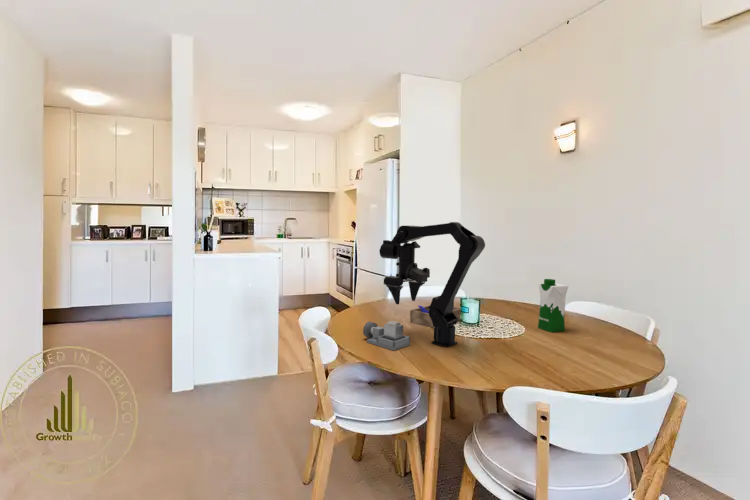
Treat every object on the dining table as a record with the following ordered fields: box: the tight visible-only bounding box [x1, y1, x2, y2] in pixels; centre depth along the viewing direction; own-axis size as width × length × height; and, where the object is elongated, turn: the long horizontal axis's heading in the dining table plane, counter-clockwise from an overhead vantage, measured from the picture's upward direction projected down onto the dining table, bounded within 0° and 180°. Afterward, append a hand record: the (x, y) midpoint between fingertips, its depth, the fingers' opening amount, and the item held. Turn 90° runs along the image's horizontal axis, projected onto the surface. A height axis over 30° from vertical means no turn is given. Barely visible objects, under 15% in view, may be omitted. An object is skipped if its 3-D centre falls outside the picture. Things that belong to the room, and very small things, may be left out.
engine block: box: [383, 320, 404, 341], centre depth 135 cm, size 5×4×7 cm
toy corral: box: [409, 305, 462, 329], centre depth 169 cm, size 13×20×5 cm, turn 137°
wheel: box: [362, 321, 379, 339], centre depth 142 cm, size 2×6×6 cm, turn 137°
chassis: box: [366, 325, 411, 351], centre depth 137 cm, size 14×8×5 cm, turn 47°
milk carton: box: [537, 278, 569, 333], centre depth 159 cm, size 9×9×20 cm
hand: (405, 302), depth 147 cm, fingers open, 9 cm apart
